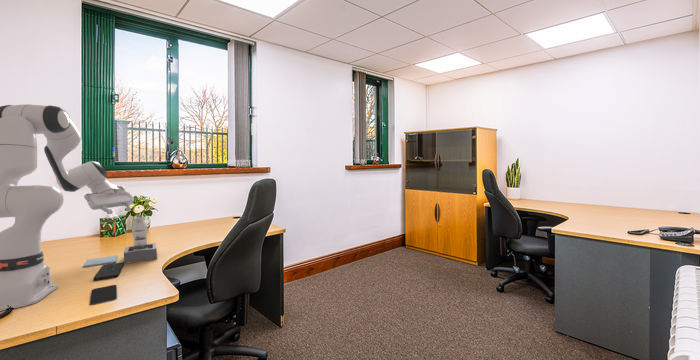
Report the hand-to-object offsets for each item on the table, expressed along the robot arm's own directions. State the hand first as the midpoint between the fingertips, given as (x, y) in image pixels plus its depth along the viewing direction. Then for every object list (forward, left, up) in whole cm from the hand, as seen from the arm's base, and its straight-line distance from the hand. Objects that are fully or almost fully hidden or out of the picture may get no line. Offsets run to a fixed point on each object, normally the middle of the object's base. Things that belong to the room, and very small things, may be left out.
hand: (120, 211), depth 157 cm
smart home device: (-27, +3, -23) cm, 36 cm away
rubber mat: (-6, +8, -23) cm, 25 cm away
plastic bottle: (-10, -8, -23) cm, 26 cm away
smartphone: (-57, +2, -23) cm, 61 cm away
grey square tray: (-10, -8, -23) cm, 26 cm away
